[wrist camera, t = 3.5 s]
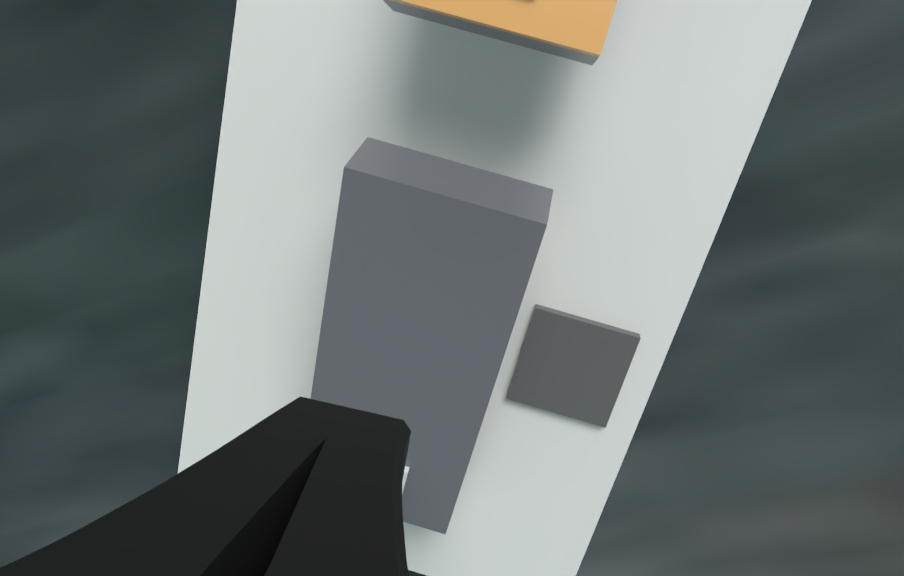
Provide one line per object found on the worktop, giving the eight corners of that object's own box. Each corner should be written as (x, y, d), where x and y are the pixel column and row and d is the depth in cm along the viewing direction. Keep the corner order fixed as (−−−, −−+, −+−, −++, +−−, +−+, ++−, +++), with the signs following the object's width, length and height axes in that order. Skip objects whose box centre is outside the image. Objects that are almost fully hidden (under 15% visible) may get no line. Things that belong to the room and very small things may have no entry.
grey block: (553, 189, 12) (546, 229, 10) (456, 487, 15) (444, 540, 14) (367, 137, 12) (341, 170, 11) (318, 446, 16) (294, 495, 14)
